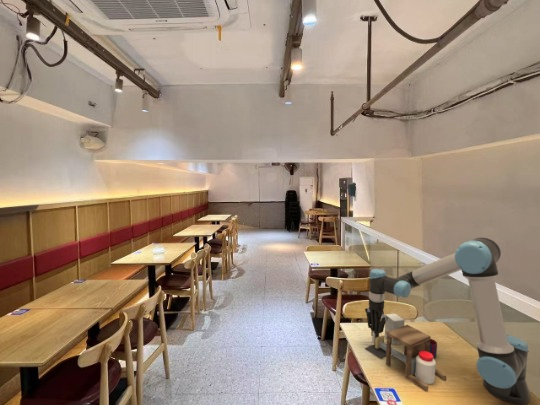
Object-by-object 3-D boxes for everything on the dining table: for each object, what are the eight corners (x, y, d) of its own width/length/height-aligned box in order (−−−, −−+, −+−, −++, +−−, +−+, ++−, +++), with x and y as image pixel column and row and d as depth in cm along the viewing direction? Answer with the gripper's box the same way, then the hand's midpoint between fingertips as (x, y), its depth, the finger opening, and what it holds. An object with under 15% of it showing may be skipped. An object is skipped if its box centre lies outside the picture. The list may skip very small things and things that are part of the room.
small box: (403, 343, 158) (405, 320, 156) (393, 345, 156) (394, 321, 155) (394, 335, 166) (395, 313, 164) (384, 336, 164) (385, 314, 163)
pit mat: (396, 352, 150) (396, 351, 150) (380, 359, 144) (380, 358, 144) (380, 342, 159) (380, 341, 159) (364, 348, 153) (364, 348, 153)
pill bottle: (434, 386, 126) (435, 362, 124) (413, 379, 130) (415, 356, 129) (435, 376, 132) (436, 352, 131) (416, 370, 136) (417, 347, 135)
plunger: (422, 369, 136) (423, 355, 136) (410, 375, 132) (411, 361, 131) (384, 345, 155) (384, 333, 154) (372, 350, 151) (372, 338, 150)
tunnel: (446, 379, 130) (448, 344, 128) (425, 391, 123) (427, 354, 121) (405, 355, 147) (407, 324, 146) (385, 364, 140) (387, 332, 139)
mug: (438, 359, 144) (439, 345, 144) (416, 357, 146) (417, 343, 146) (433, 351, 151) (434, 338, 150) (412, 349, 153) (413, 336, 152)
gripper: (392, 302, 149) (390, 347, 151) (371, 293, 160) (370, 335, 162) (381, 306, 145) (380, 351, 147) (361, 296, 156) (360, 339, 158)
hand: (374, 343), depth 155 cm, fingers closed
